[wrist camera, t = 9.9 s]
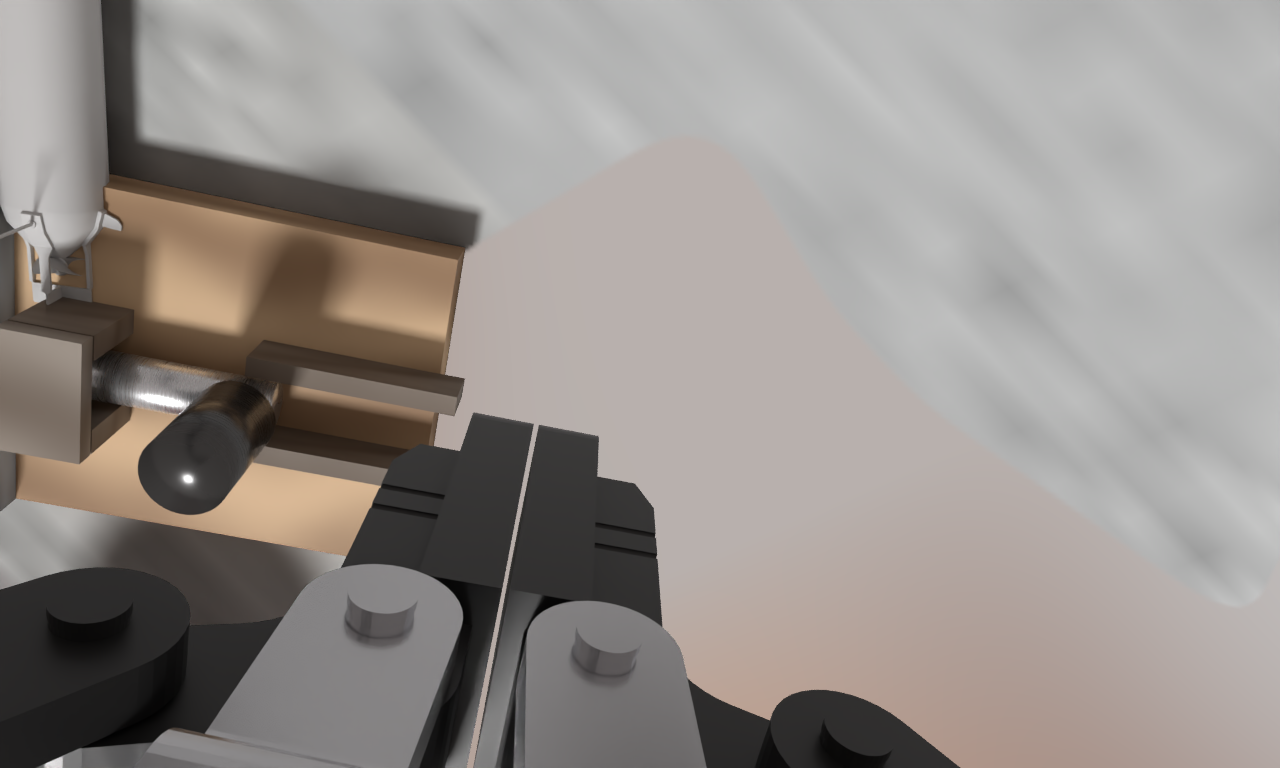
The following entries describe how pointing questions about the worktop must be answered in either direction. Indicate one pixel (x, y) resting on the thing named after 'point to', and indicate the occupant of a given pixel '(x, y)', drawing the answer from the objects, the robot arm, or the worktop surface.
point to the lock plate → (230, 358)
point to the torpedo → (53, 135)
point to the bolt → (191, 425)
